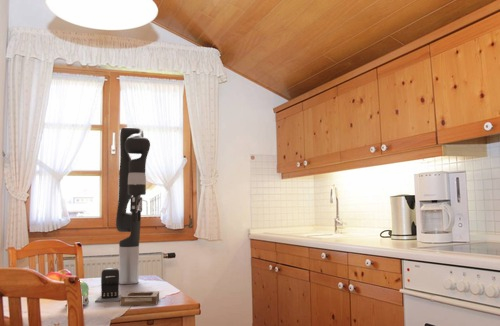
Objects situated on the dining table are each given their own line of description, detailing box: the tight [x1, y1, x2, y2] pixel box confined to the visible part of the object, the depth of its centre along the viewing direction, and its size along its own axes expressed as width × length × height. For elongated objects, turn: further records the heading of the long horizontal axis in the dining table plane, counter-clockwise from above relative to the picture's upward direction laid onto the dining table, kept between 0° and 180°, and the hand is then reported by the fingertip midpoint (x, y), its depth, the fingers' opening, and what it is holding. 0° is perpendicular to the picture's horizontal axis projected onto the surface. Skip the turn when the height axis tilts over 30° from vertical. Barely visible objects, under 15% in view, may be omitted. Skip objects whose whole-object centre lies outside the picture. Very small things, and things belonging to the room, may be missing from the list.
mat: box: [94, 294, 123, 303], centre depth 181 cm, size 9×9×1 cm
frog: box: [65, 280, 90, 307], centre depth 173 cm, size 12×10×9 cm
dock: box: [120, 290, 160, 306], centre depth 176 cm, size 10×13×3 cm
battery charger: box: [100, 267, 120, 298], centre depth 181 cm, size 7×4×11 cm, turn 106°
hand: (136, 221), depth 194 cm, fingers open, 8 cm apart
